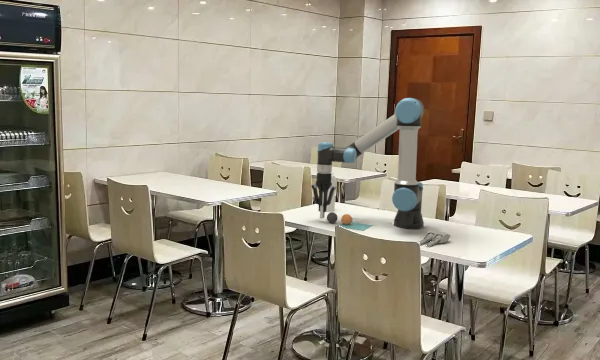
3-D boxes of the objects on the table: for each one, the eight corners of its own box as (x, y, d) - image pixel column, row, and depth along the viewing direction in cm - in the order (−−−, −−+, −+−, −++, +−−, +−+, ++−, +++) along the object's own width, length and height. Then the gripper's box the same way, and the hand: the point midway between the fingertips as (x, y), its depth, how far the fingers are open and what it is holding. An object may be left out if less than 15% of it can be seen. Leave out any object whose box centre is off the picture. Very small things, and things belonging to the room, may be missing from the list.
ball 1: (327, 214, 305) (332, 223, 304) (323, 215, 300) (328, 225, 300) (336, 209, 303) (340, 219, 302) (332, 211, 298) (336, 221, 297)
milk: (327, 212, 329) (329, 173, 326) (319, 210, 333) (321, 171, 330) (334, 210, 334) (336, 172, 330) (326, 209, 338) (328, 171, 335)
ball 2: (347, 225, 301) (355, 220, 299) (343, 228, 296) (352, 222, 294) (341, 217, 302) (349, 211, 300) (337, 218, 297) (345, 213, 295)
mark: (372, 225, 300) (372, 224, 300) (363, 230, 287) (363, 230, 287) (346, 221, 305) (346, 221, 305) (336, 226, 293) (336, 226, 293)
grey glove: (412, 249, 265) (412, 239, 264) (434, 235, 280) (434, 226, 278) (432, 253, 259) (432, 243, 258) (453, 239, 273) (453, 230, 272)
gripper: (309, 172, 299) (307, 217, 303) (333, 174, 294) (331, 220, 297) (315, 170, 306) (313, 215, 310) (338, 173, 301) (336, 218, 304)
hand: (322, 217), depth 303 cm, fingers closed
